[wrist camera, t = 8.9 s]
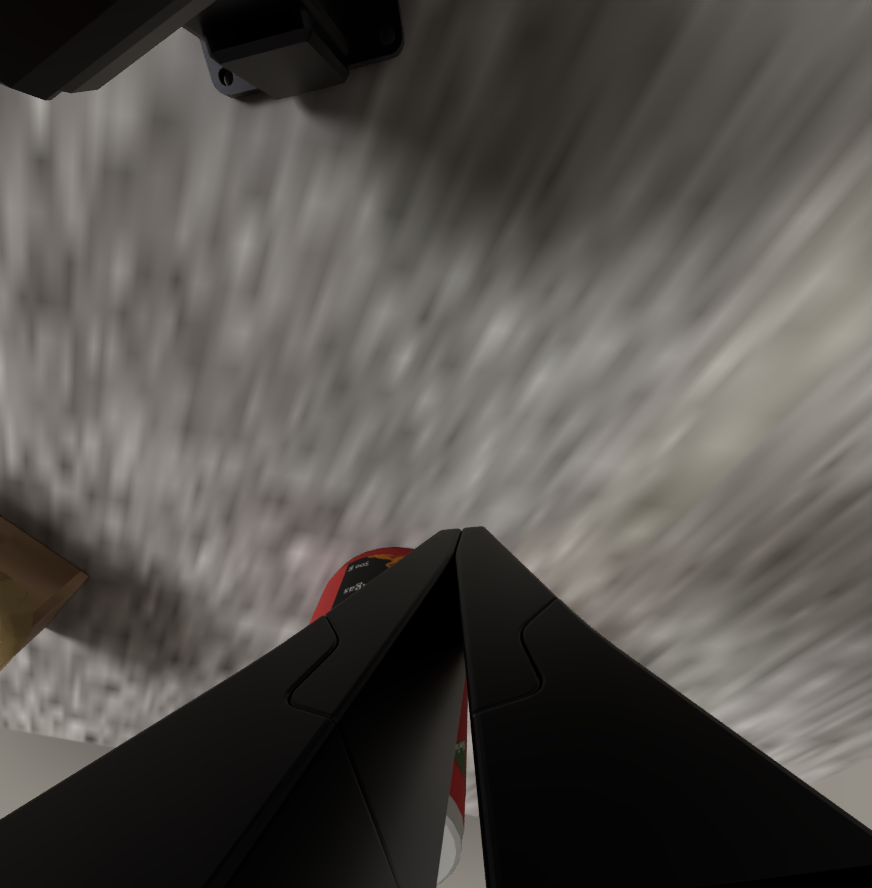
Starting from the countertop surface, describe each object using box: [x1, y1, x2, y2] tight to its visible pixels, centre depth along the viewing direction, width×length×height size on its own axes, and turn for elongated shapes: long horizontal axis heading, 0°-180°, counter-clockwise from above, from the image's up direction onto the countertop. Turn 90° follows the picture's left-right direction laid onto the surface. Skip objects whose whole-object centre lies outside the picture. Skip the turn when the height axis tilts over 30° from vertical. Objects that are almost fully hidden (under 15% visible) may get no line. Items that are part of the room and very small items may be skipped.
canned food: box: [309, 548, 468, 885], centre depth 20 cm, size 8×8×11 cm
